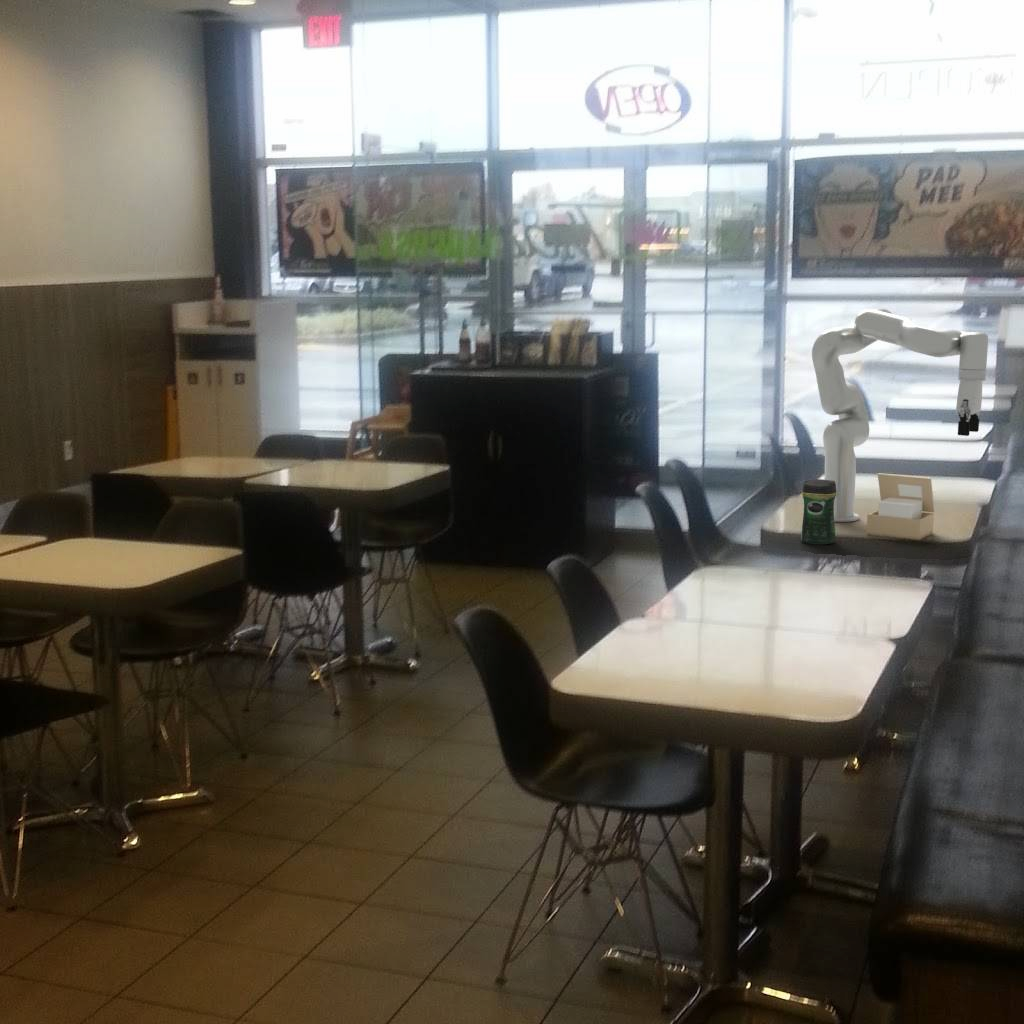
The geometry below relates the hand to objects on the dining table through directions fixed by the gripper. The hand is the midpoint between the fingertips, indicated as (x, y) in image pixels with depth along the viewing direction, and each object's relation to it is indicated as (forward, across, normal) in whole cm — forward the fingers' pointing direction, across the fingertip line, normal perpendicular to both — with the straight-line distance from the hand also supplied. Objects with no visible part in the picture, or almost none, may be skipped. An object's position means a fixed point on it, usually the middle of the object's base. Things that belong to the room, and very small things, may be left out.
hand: (968, 433), depth 392 cm
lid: (+19, +4, -16) cm, 25 cm away
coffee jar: (+31, +31, -32) cm, 55 cm away
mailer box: (+31, +8, -16) cm, 35 cm away
